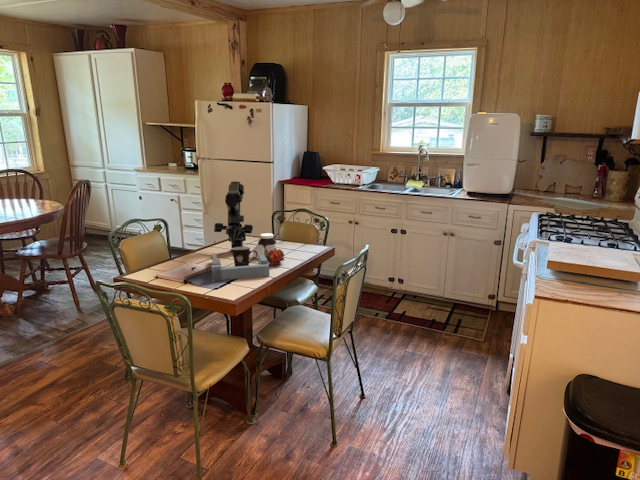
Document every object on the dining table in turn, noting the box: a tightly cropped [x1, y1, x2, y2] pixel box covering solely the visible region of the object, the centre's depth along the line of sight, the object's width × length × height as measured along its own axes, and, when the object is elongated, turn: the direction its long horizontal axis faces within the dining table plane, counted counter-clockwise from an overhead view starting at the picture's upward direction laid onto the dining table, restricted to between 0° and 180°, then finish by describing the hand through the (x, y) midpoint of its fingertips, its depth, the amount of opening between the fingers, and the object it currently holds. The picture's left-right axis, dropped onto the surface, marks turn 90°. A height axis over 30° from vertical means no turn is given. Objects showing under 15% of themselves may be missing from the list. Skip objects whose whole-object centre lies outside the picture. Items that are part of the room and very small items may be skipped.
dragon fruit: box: [266, 248, 286, 266], centre depth 227 cm, size 8×8×12 cm
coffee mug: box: [231, 246, 258, 267], centre depth 219 cm, size 12×9×10 cm
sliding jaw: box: [210, 253, 222, 266], centre depth 218 cm, size 25×4×6 cm, turn 16°
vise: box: [211, 255, 270, 281], centre depth 212 cm, size 14×26×6 cm, turn 106°
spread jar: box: [252, 232, 278, 259], centre depth 240 cm, size 12×11×12 cm
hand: (233, 244), depth 222 cm, fingers closed
